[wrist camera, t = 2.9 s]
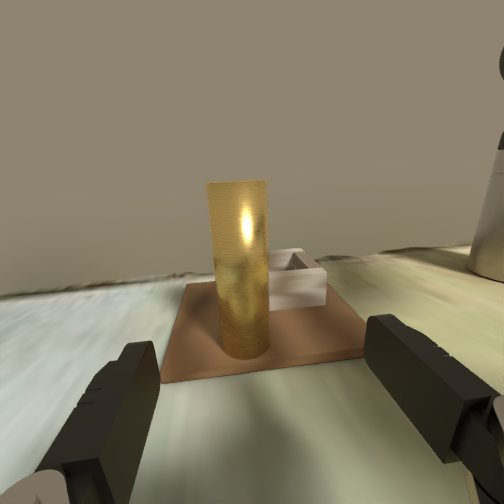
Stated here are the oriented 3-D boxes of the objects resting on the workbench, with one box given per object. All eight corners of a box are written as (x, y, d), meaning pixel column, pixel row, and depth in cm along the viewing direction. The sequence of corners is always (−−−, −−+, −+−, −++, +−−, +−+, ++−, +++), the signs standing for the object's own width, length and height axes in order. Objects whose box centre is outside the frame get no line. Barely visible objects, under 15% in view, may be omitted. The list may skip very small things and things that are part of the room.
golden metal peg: (265, 324, 24) (261, 179, 19) (275, 356, 20) (273, 180, 15) (221, 329, 23) (207, 181, 19) (221, 363, 19) (203, 183, 15)
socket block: (315, 278, 36) (317, 246, 34) (385, 353, 21) (394, 303, 19) (187, 290, 34) (183, 257, 32) (161, 383, 19) (150, 330, 17)
